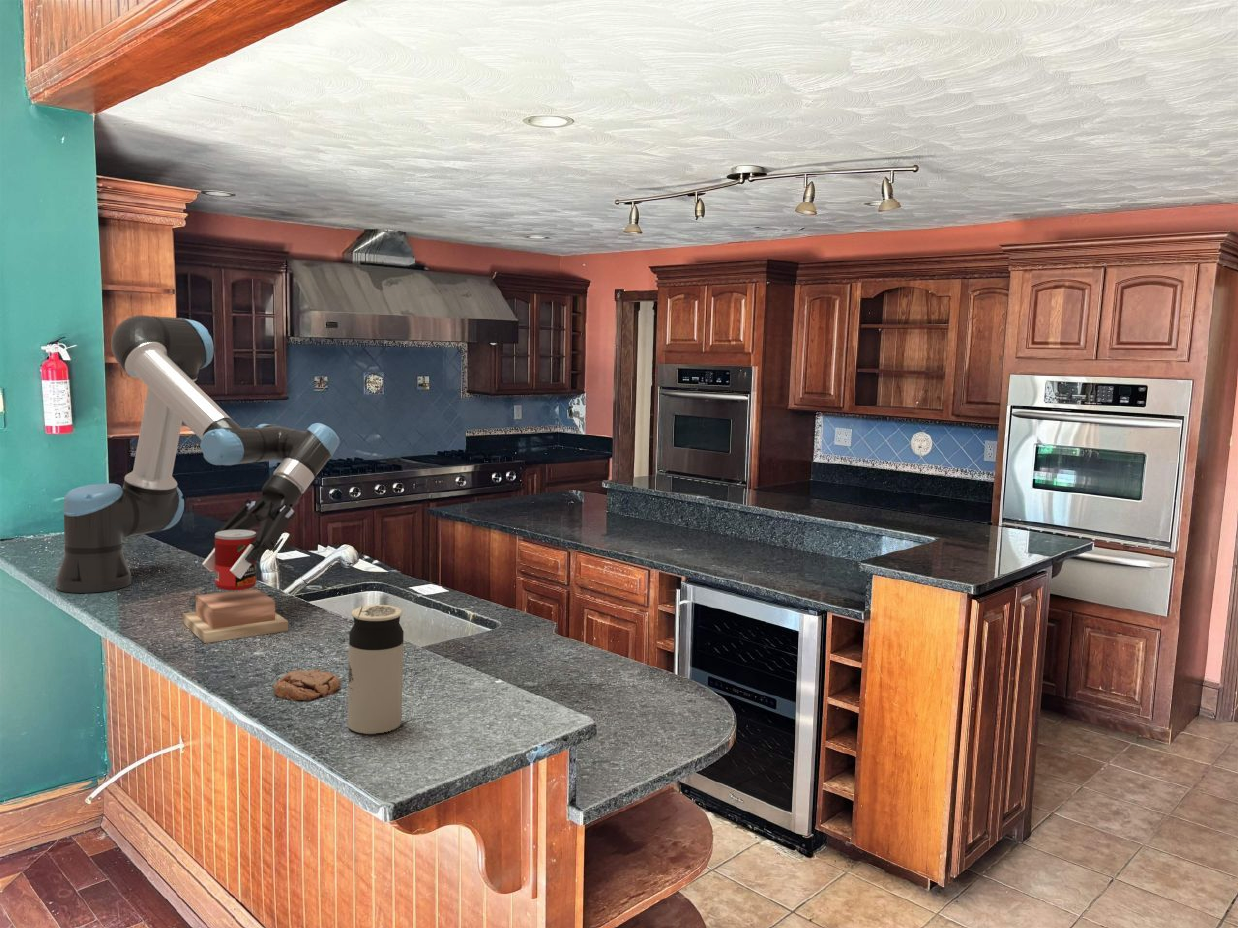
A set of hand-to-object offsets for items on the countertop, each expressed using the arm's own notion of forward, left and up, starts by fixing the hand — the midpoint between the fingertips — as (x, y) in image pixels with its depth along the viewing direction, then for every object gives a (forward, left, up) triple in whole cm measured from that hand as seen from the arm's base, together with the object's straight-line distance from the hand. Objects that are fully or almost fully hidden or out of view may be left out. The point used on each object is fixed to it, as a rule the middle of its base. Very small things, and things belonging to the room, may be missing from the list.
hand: (221, 571), depth 179 cm
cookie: (+41, +2, -13) cm, 43 cm away
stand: (-1, +3, -12) cm, 13 cm away
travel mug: (+61, +5, -12) cm, 62 cm away
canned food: (-1, +3, -4) cm, 5 cm away
